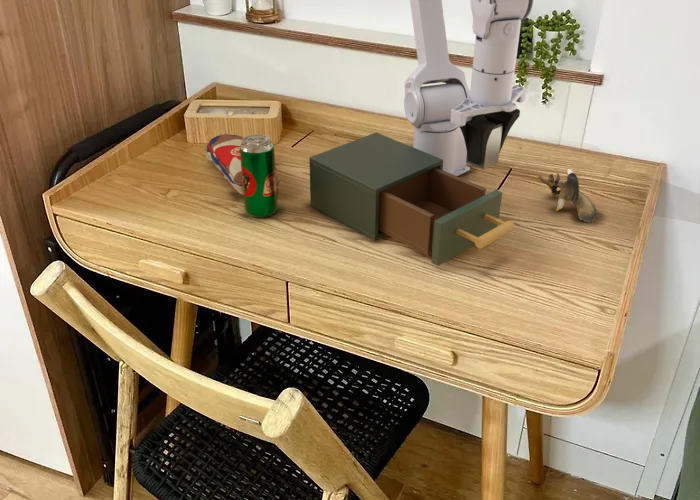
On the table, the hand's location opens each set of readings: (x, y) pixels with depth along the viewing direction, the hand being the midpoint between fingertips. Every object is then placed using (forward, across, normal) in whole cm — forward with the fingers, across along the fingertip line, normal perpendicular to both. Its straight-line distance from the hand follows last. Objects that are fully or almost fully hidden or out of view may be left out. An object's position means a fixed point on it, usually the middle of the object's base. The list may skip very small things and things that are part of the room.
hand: (483, 158), depth 105 cm
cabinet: (+10, -10, +13) cm, 19 cm away
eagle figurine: (+10, +12, -8) cm, 18 cm away
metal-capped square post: (+1, 0, 0) cm, 1 cm away
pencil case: (+10, -19, +36) cm, 41 cm away
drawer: (+9, -10, -2) cm, 13 cm away
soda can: (+10, -24, +24) cm, 35 cm away
